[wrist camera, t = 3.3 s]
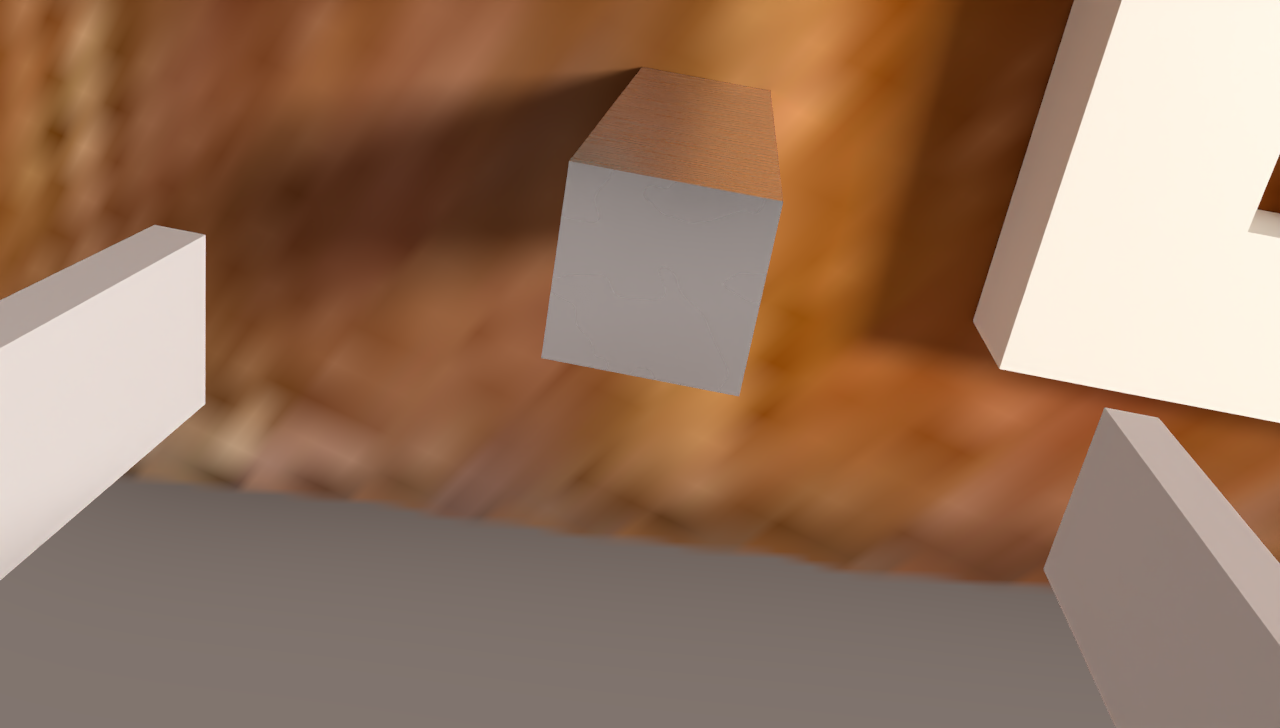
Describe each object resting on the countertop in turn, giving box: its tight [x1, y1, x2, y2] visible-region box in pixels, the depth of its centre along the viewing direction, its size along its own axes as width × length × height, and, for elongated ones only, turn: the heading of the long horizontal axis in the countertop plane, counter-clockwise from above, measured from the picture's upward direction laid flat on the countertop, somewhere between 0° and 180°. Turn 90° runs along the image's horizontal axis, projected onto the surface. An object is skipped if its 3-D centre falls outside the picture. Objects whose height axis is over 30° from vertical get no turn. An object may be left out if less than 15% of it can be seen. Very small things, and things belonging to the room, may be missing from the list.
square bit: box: [541, 67, 783, 396], centre depth 27 cm, size 4×4×14 cm
